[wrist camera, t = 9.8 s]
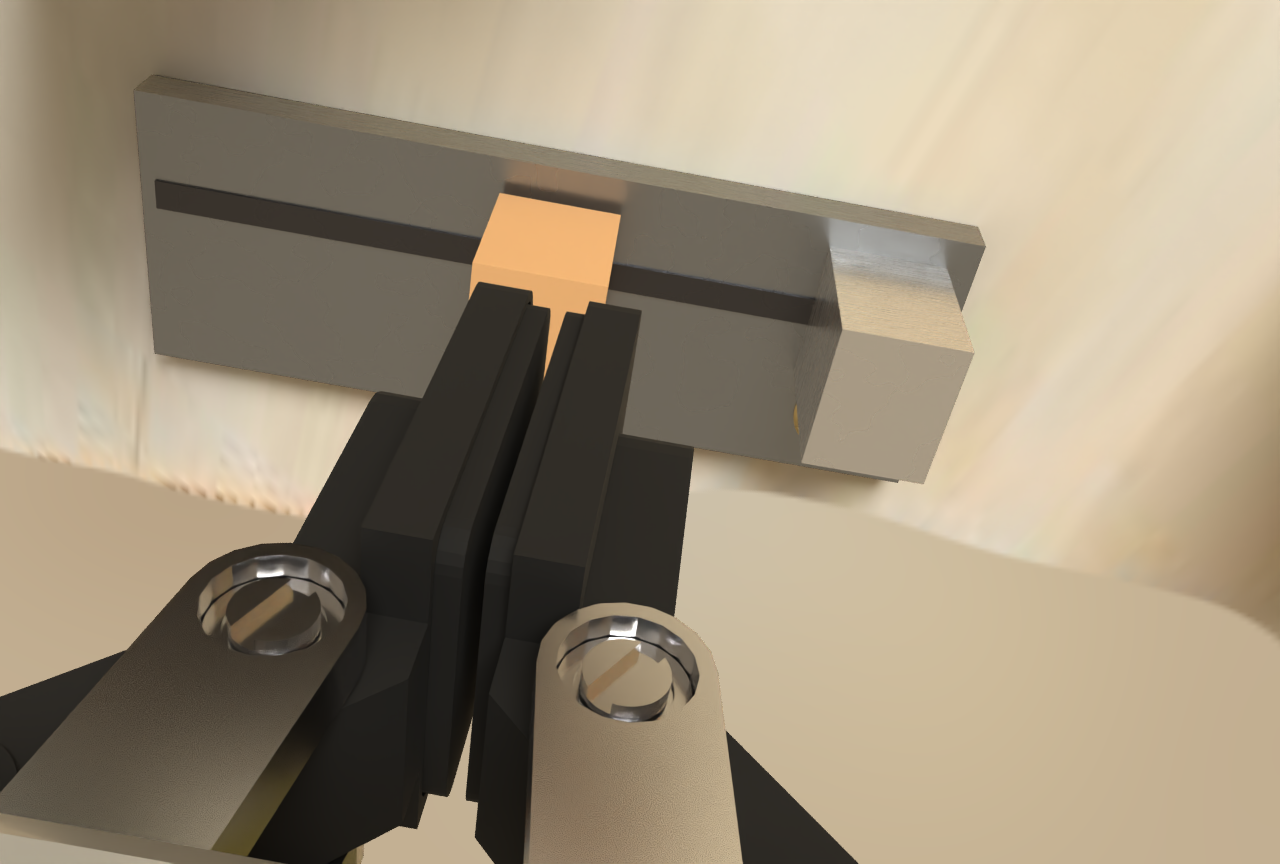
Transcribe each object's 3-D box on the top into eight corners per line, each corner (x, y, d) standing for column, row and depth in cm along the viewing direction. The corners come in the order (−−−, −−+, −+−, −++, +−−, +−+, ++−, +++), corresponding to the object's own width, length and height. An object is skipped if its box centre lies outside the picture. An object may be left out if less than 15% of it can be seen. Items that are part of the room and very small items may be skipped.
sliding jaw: (621, 214, 39) (608, 287, 35) (588, 402, 43) (573, 486, 39) (499, 192, 39) (472, 262, 35) (479, 383, 43) (452, 465, 39)
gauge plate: (977, 226, 40) (1018, 329, 35) (893, 459, 46) (916, 580, 40) (152, 74, 39) (53, 155, 33) (170, 333, 45) (88, 439, 39)
